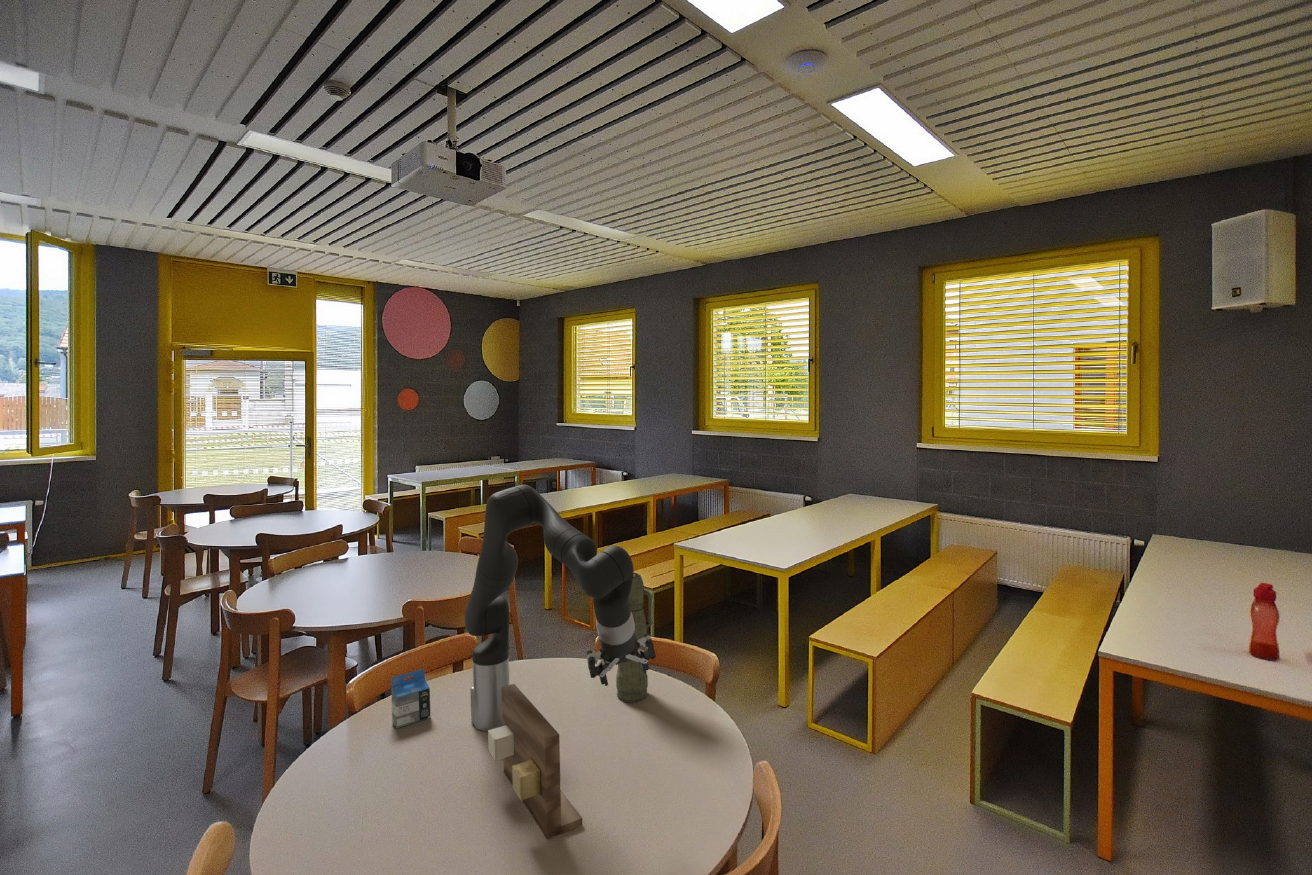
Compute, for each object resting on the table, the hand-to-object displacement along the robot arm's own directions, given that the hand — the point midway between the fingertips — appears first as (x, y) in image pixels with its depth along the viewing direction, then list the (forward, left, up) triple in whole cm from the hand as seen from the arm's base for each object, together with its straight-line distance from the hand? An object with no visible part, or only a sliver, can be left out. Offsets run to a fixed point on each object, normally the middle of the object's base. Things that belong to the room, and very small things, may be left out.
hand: (624, 676), depth 137 cm
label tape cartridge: (-66, -2, -25) cm, 70 cm away
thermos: (-21, +37, -25) cm, 49 cm away
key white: (-23, -11, -17) cm, 31 cm away
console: (-14, -12, -25) cm, 31 cm away
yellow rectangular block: (-10, -19, -17) cm, 27 cm away
